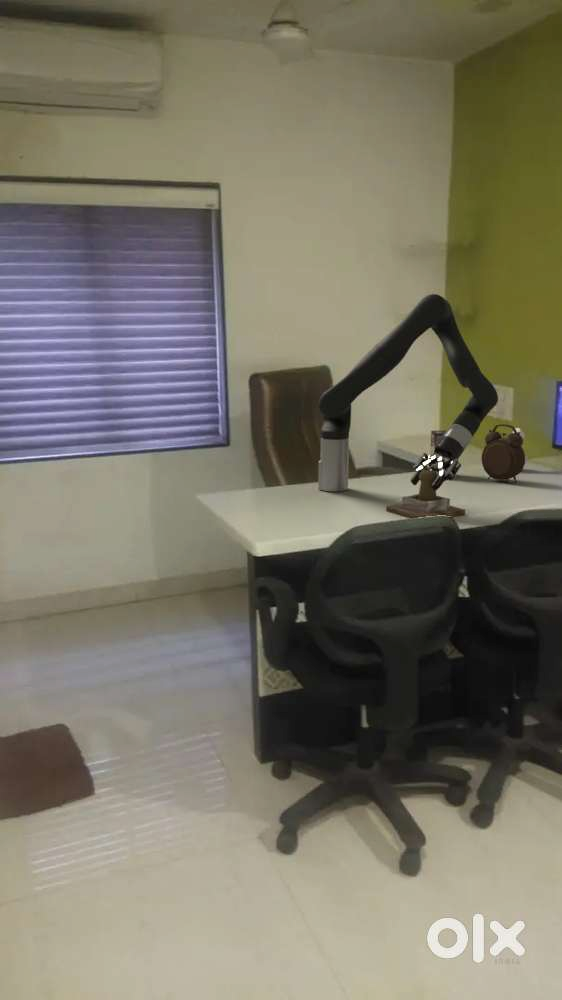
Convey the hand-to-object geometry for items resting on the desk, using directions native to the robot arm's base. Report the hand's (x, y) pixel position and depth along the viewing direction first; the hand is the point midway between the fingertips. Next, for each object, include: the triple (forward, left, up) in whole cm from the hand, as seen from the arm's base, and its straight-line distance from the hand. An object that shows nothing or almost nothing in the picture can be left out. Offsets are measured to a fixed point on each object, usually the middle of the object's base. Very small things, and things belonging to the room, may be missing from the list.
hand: (423, 486), depth 220 cm
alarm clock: (+19, +56, -8) cm, 60 cm away
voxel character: (+22, +79, -8) cm, 82 cm away
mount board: (+1, +1, -8) cm, 8 cm away
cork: (+1, +1, -7) cm, 7 cm away
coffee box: (-3, +59, -8) cm, 60 cm away
